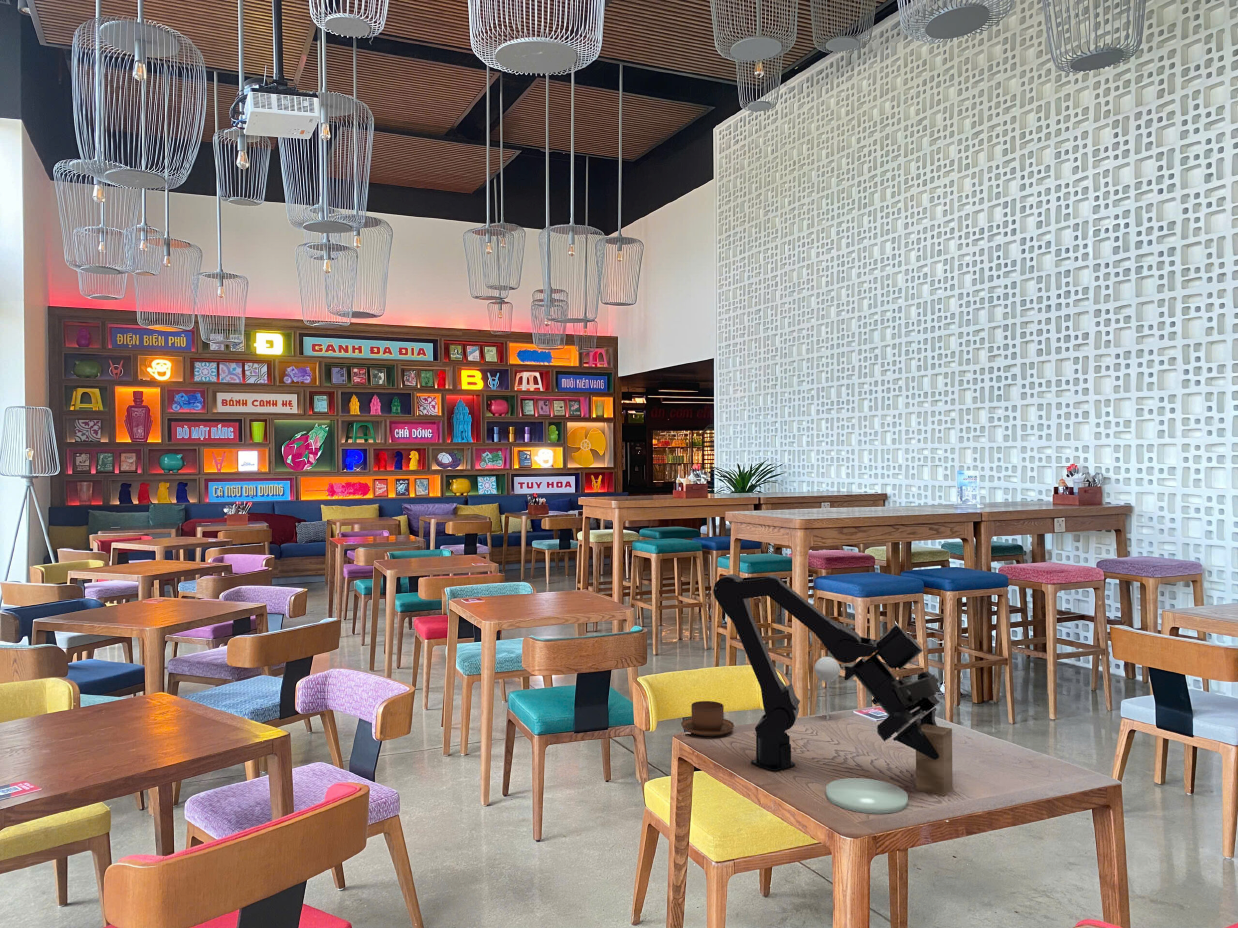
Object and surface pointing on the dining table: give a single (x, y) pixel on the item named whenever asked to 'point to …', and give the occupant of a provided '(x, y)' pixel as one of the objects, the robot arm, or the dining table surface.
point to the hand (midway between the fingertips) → (941, 754)
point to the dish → (867, 795)
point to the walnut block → (935, 762)
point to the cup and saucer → (707, 719)
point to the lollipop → (827, 673)
